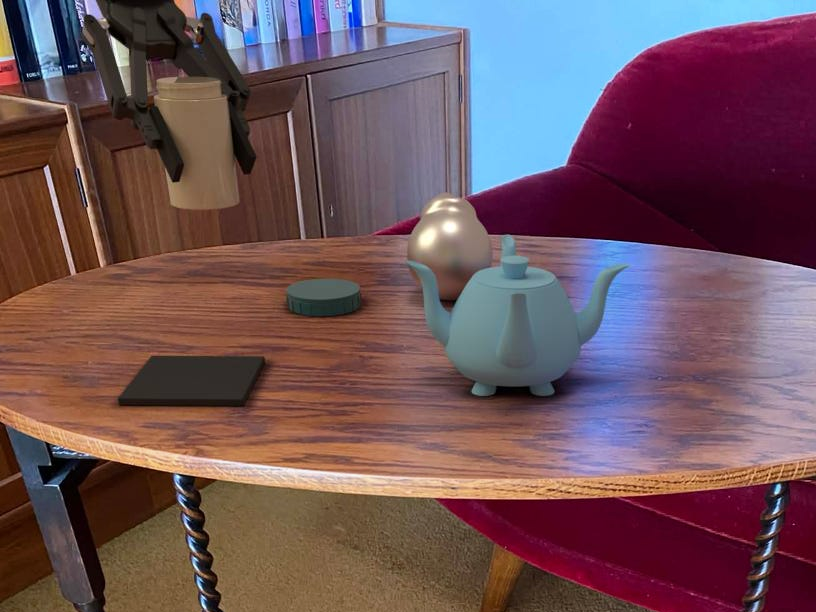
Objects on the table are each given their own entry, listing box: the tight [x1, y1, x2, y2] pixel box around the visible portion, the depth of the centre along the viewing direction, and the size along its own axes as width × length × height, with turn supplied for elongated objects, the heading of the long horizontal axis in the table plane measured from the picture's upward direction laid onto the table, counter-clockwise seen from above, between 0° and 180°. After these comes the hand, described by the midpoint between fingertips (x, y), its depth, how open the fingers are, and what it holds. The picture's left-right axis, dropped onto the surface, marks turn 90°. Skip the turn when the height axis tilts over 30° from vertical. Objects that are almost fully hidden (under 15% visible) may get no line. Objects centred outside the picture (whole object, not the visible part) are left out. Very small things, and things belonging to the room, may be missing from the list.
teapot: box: [404, 234, 629, 397], centre depth 80 cm, size 13×13×10 cm
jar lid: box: [285, 278, 363, 317], centre depth 99 cm, size 8×8×2 cm
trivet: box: [117, 355, 266, 407], centre depth 81 cm, size 10×10×1 cm
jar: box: [153, 76, 241, 211], centre depth 99 cm, size 7×7×11 cm
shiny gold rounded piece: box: [406, 192, 494, 301], centre depth 99 cm, size 9×10×10 cm
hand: (214, 169), depth 98 cm, fingers closed on jar, 7 cm apart
